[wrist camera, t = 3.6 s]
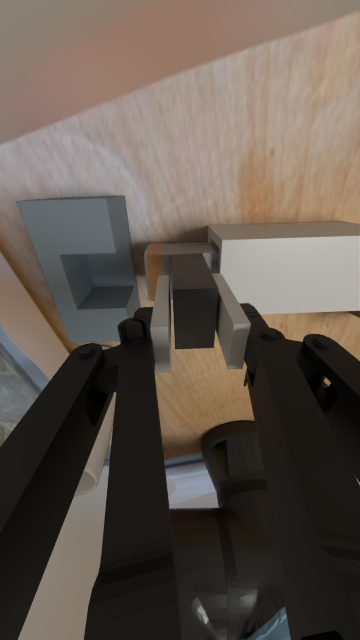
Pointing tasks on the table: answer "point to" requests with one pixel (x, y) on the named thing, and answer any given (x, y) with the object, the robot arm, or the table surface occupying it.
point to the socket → (85, 262)
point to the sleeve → (291, 265)
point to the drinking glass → (97, 452)
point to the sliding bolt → (187, 288)
